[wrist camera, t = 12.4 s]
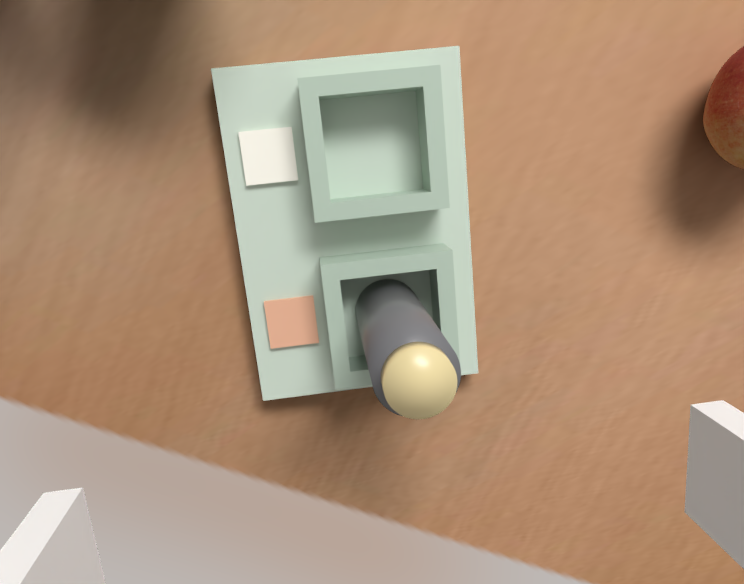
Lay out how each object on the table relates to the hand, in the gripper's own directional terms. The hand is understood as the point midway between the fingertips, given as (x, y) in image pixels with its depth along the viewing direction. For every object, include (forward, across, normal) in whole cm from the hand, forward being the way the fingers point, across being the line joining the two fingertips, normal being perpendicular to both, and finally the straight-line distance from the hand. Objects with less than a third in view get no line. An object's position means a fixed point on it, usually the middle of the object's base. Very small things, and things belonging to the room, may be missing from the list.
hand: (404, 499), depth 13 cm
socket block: (+25, +1, +2) cm, 25 cm away
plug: (+24, +3, -3) cm, 24 cm away
